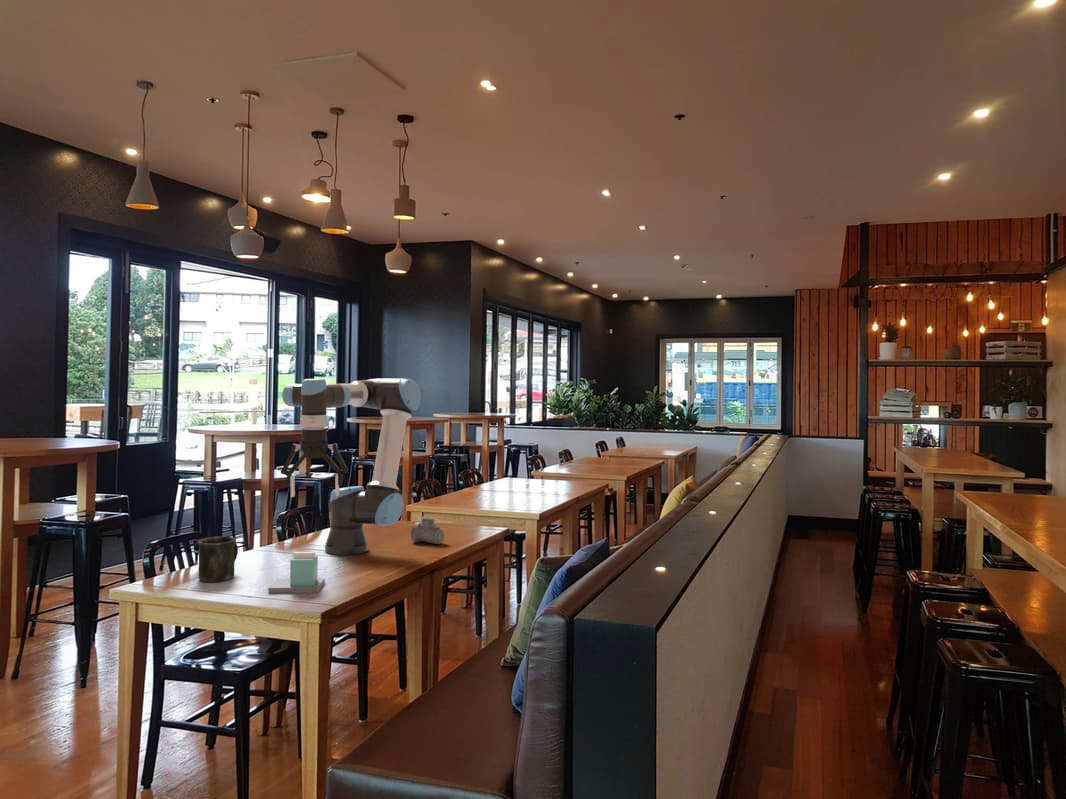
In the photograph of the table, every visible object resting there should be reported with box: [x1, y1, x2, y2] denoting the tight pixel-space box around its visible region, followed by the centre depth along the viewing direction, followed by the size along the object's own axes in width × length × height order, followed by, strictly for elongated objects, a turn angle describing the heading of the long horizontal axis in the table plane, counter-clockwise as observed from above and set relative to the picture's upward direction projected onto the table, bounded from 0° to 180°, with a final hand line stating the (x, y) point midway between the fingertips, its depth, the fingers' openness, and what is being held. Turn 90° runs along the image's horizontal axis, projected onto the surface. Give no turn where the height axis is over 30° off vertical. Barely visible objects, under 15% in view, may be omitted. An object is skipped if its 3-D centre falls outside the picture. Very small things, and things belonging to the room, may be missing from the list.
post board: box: [267, 577, 326, 594], centre depth 228 cm, size 11×14×6 cm
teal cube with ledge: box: [289, 551, 319, 586], centre depth 228 cm, size 7×7×9 cm
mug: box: [197, 536, 239, 583], centre depth 238 cm, size 11×15×12 cm
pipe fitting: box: [410, 516, 445, 545], centre depth 295 cm, size 12×8×10 cm, turn 62°
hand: (315, 496), depth 241 cm, fingers open, 13 cm apart
